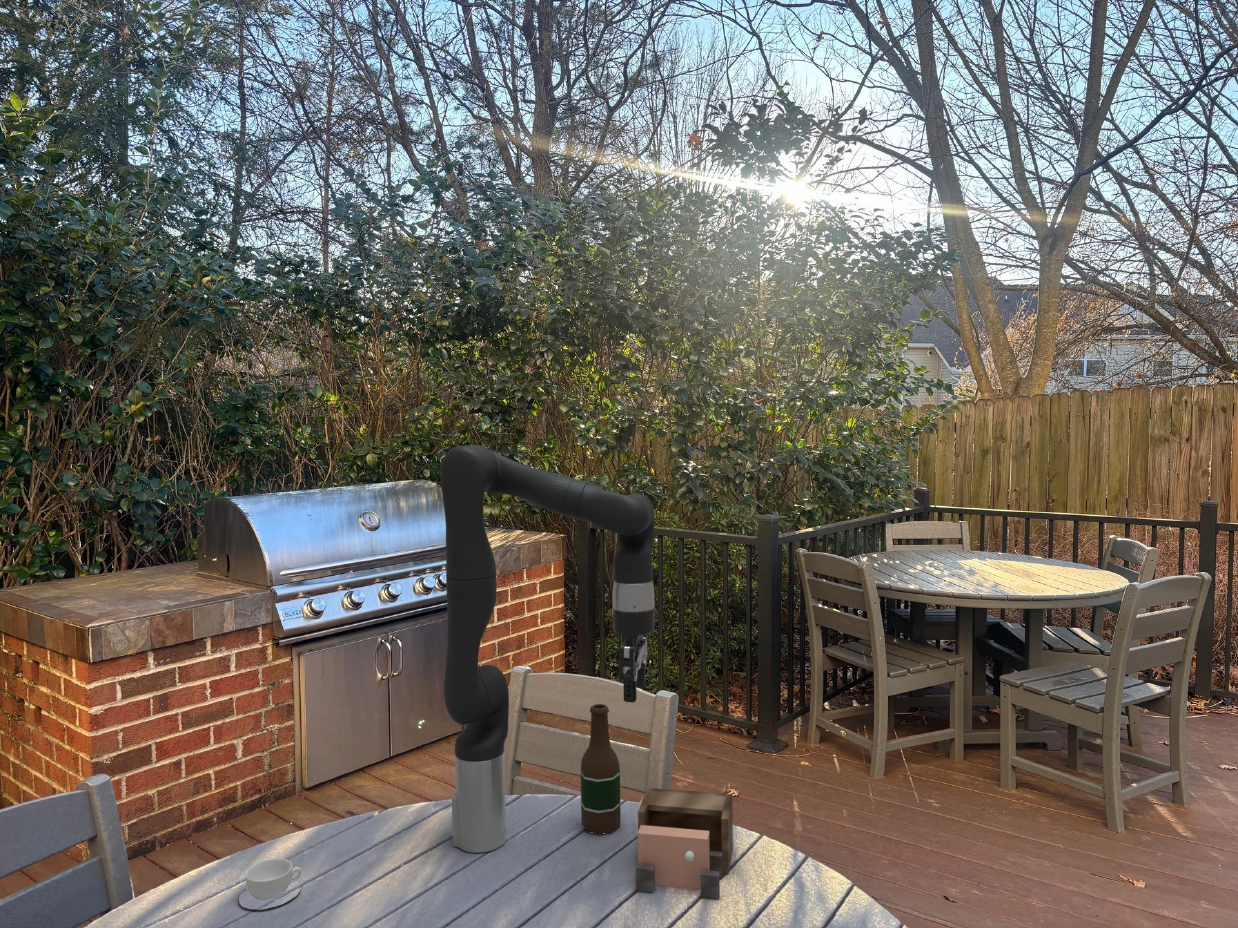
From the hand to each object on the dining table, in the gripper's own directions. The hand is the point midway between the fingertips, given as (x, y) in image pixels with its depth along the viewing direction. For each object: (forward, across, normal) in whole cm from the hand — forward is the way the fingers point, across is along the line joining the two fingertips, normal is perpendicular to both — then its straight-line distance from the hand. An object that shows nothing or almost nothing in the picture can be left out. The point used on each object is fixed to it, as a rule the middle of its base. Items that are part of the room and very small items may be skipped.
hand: (634, 693), depth 154 cm
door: (+30, -8, -8) cm, 32 cm away
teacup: (+30, -24, +59) cm, 70 cm away
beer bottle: (+30, +10, +9) cm, 33 cm away
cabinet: (+30, -2, -9) cm, 32 cm away
